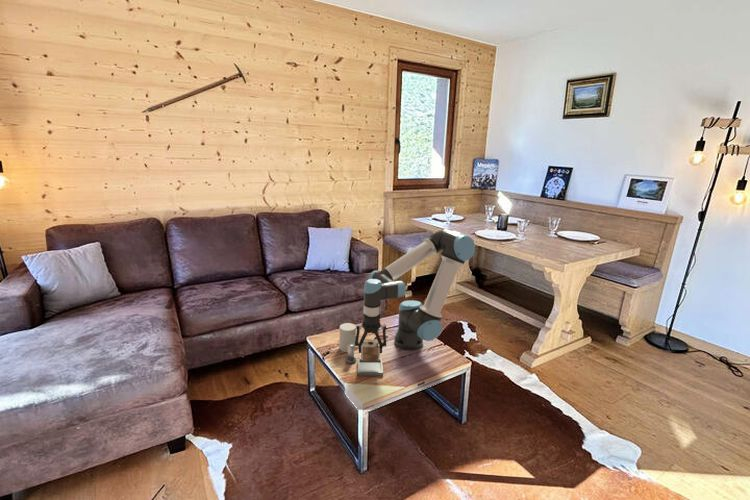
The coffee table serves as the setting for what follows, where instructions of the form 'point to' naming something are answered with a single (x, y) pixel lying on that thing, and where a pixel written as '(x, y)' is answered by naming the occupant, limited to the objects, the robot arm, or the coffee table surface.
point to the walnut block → (370, 350)
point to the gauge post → (350, 354)
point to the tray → (370, 368)
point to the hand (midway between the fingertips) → (370, 358)
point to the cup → (347, 336)
